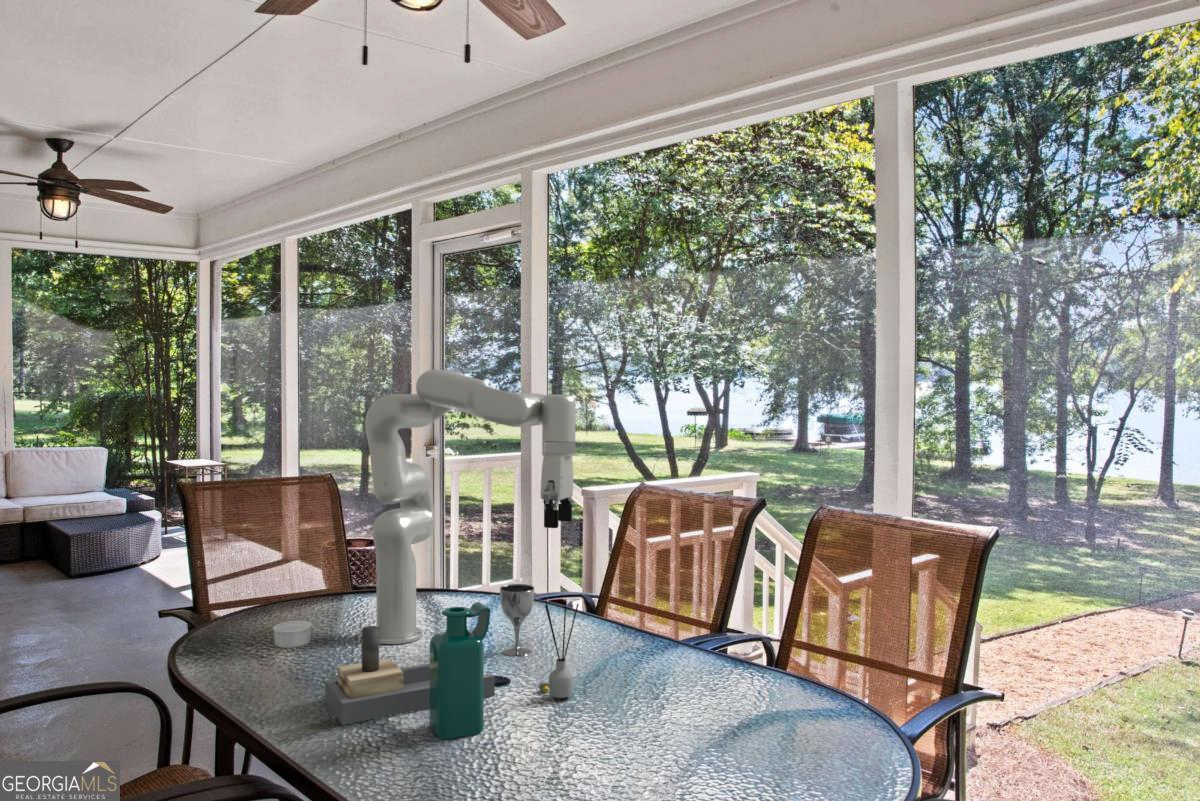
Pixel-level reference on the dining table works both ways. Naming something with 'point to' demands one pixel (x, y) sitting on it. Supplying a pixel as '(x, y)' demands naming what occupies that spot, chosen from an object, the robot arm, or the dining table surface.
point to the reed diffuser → (559, 668)
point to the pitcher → (458, 674)
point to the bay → (389, 697)
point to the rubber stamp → (370, 670)
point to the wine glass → (517, 611)
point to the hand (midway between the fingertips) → (558, 524)
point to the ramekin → (292, 634)
